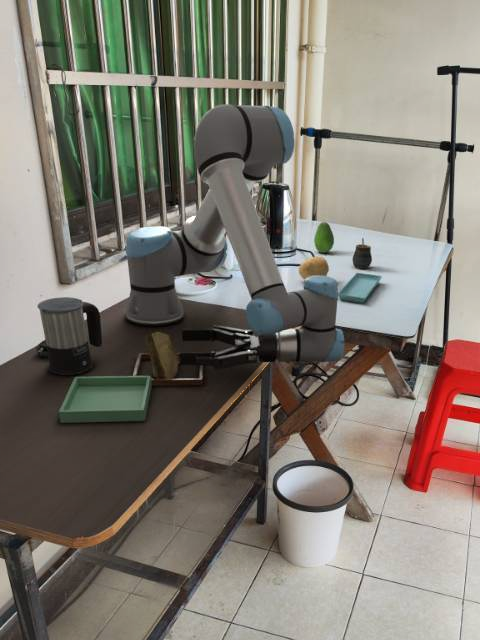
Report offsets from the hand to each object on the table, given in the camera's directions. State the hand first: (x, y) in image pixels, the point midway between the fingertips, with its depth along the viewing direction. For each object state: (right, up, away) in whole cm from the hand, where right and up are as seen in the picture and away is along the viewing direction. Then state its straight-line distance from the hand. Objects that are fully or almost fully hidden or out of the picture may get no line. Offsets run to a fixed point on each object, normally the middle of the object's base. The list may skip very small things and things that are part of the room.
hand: (180, 346), depth 131 cm
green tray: (-12, -13, -12) cm, 21 cm away
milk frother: (-28, -3, +4) cm, 28 cm away
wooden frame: (-3, -5, +3) cm, 7 cm away
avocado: (+32, +52, +108) cm, 124 cm away
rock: (-3, -6, +3) cm, 7 cm away
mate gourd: (+47, +42, +92) cm, 111 cm away
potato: (+29, +32, +72) cm, 84 cm away
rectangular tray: (+44, +27, +65) cm, 83 cm away
